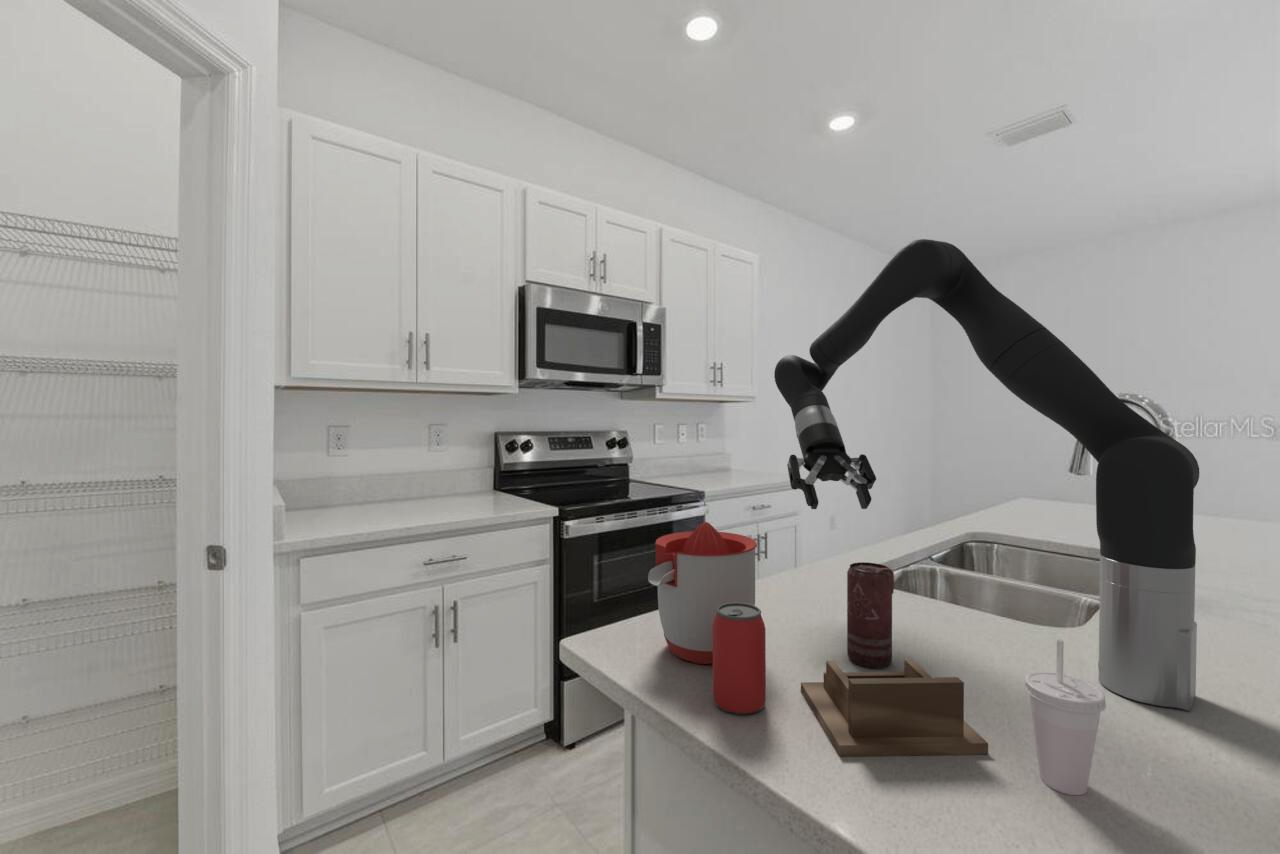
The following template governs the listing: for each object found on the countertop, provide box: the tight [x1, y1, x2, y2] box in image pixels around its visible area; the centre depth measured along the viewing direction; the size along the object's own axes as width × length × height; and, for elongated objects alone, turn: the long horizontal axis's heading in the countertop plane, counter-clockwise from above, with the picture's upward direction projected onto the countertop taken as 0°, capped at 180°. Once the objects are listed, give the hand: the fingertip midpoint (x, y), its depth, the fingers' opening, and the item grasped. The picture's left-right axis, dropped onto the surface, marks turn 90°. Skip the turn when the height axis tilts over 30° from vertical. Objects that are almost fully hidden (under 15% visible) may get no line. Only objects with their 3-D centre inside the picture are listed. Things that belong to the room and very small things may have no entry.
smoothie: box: [1024, 638, 1107, 796], centre depth 56 cm, size 6×6×14 cm
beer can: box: [712, 603, 767, 715], centre depth 71 cm, size 7×7×12 cm
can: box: [846, 562, 895, 670], centre depth 83 cm, size 6×6×14 cm
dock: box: [800, 659, 989, 757], centre depth 67 cm, size 14×16×7 cm
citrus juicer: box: [647, 521, 758, 665], centre depth 87 cm, size 16×17×20 cm
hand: (840, 506), depth 94 cm, fingers open, 8 cm apart
